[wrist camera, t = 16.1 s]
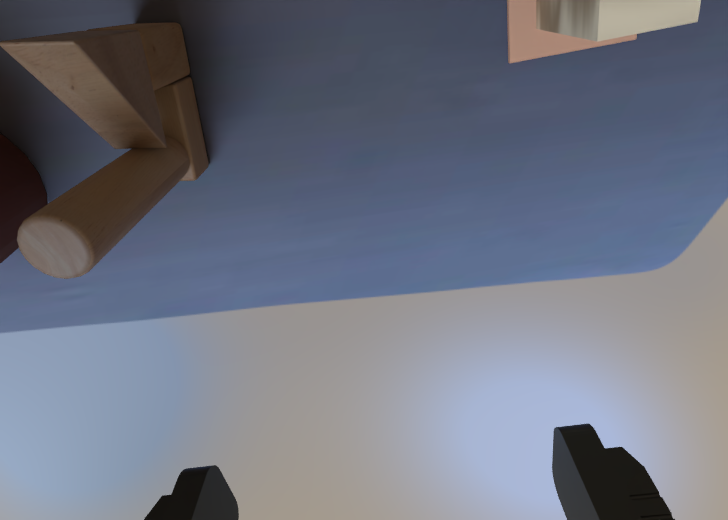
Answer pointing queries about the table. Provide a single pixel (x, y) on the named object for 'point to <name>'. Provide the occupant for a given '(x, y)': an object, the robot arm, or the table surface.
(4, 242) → the potted plant
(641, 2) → the birch block
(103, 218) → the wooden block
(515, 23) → the mat
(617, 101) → the table surface
